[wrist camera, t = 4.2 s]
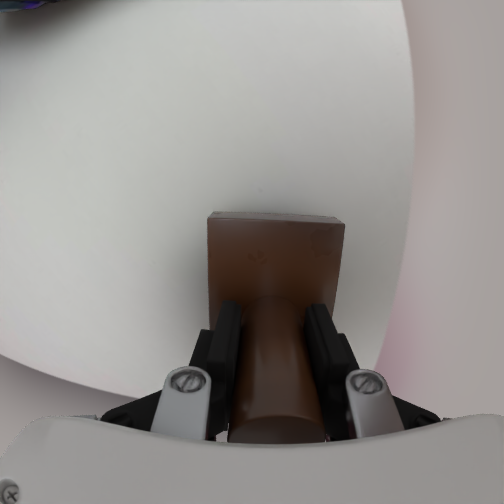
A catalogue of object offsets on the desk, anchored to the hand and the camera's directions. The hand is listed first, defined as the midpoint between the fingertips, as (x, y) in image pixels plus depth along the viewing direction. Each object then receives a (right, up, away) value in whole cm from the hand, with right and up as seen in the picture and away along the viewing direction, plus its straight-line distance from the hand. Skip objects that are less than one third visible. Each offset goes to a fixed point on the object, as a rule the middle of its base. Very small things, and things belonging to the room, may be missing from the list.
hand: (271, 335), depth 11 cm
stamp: (0, +1, +4) cm, 4 cm away
